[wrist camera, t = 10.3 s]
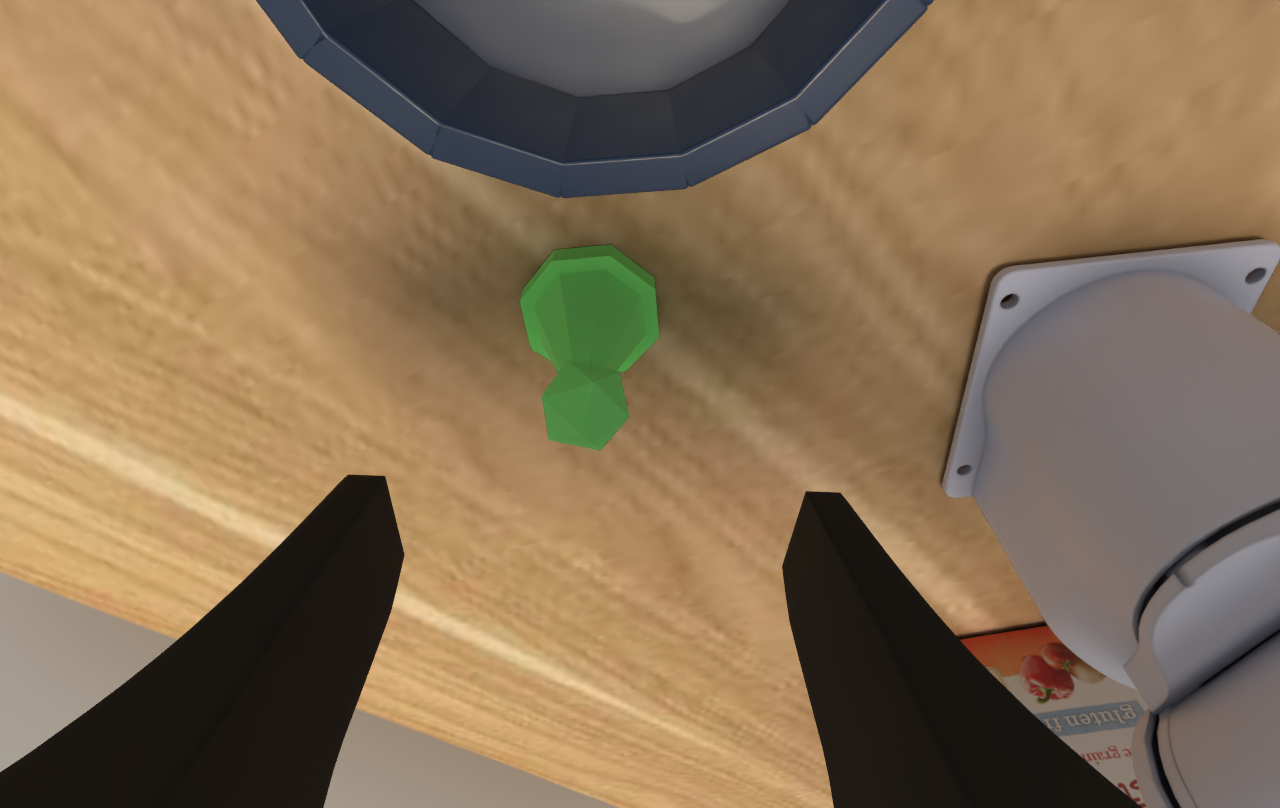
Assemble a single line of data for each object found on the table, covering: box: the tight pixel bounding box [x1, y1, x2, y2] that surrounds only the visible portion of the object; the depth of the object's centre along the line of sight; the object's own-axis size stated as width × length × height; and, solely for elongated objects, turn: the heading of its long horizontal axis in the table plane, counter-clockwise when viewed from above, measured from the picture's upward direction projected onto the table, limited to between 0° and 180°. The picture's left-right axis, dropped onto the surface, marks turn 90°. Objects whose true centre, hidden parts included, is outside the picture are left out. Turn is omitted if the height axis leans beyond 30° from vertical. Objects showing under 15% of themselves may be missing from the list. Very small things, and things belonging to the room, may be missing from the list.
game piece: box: [520, 244, 659, 451], centre depth 18 cm, size 4×4×6 cm
